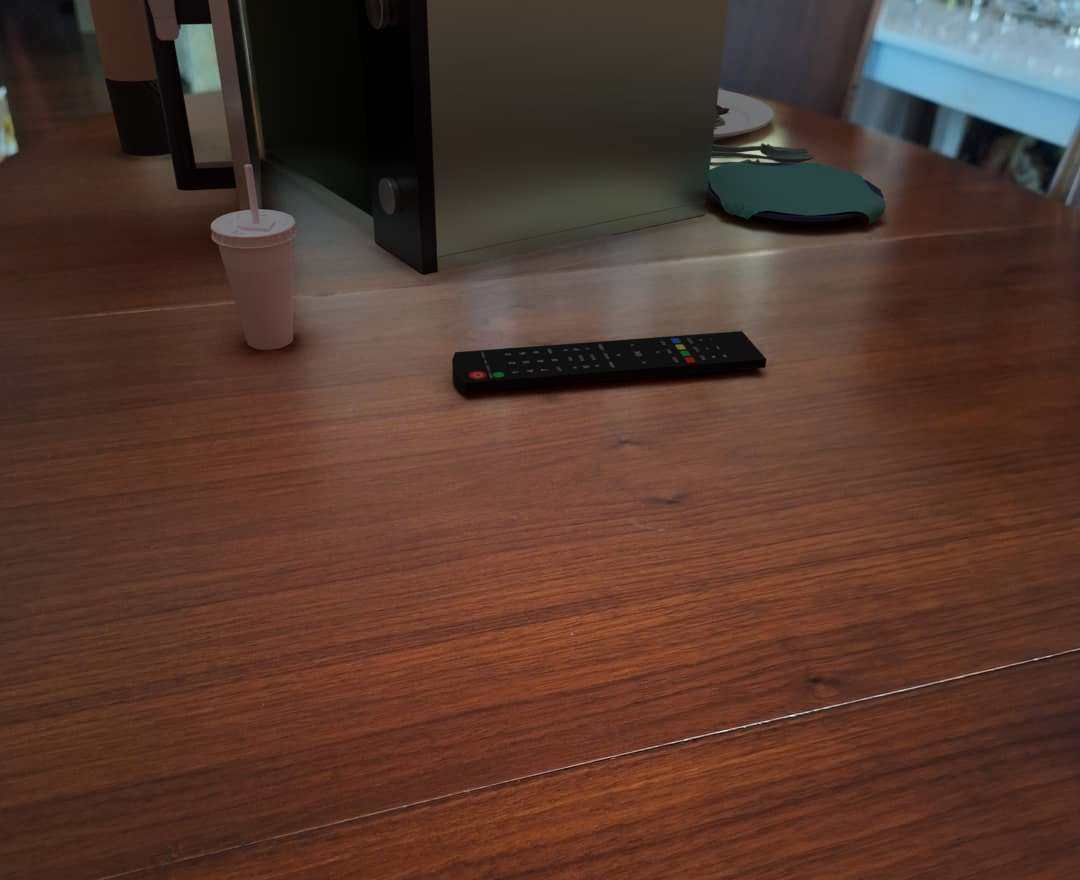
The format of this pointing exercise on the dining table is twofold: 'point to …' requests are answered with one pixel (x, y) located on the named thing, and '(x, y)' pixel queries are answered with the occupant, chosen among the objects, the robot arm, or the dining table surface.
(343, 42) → the microwave
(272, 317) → the smoothie
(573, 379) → the remote control
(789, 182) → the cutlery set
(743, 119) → the plated food
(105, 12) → the travel mug
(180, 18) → the microwave door
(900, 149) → the dining table surface
